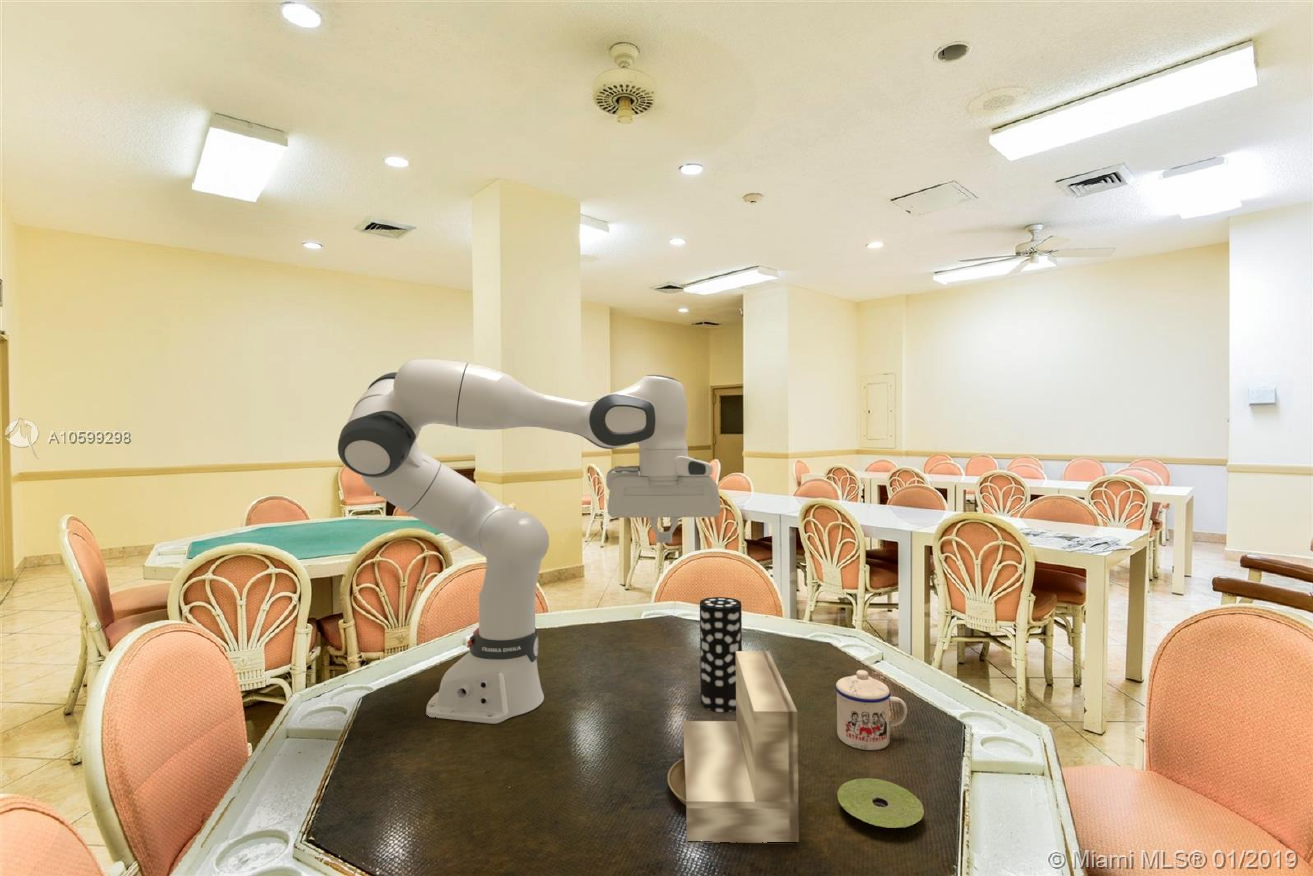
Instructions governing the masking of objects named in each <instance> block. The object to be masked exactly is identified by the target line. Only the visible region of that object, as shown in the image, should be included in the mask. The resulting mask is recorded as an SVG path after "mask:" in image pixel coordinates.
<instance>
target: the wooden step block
mask: <svg viewBox="0 0 1313 876" xmlns="http://www.w3.org/2000/svg"><path fill="white" fill-rule="evenodd" d="M770 652H771V651H769V650H750V651H749V650H745V651H744V650H742V651H736V710H735V714H736V715H735V718H736V719H735V720H734V721H733V720H727V721H726V720H719V721H718V720H683V721H682V730H683V731H682V736H683V737H682V738H683V739H682V744H683V746H682V747H683V748H682V749H683V750H682V751H683V758H684V759H685V783H686V805H685V807H686V808H685V809H686V810H685V811H686V813H685V814H686V818H685V819H686V841H687V840H689V841H701V840H702V841H713V842H712V843H720V842H730V843H733V844H735V843H736V842H737V843H740V844H742V843H743V844H744V843H746V844H768V843H767V842H799V843H800V831H799V829H800V827H799V826H800V823H799V821H800V820H799V747H798V746H799V745H798V744H799V735H798V733H799V732H798V724H799V723H798V710H797V707H796V705H795V704H794V701H793V699H792V697H791V694H790V693H789V691H788V689H787V686H786V684H785V682H784V680H783V678H782V675H781V673H780V672H779V669H778V668H777V667H778V666H777V665H776V663H775V661H774V659H773V656H772V655H771V653H770ZM762 842H763V843H762ZM737 843H736V844H737Z"/></svg>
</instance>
